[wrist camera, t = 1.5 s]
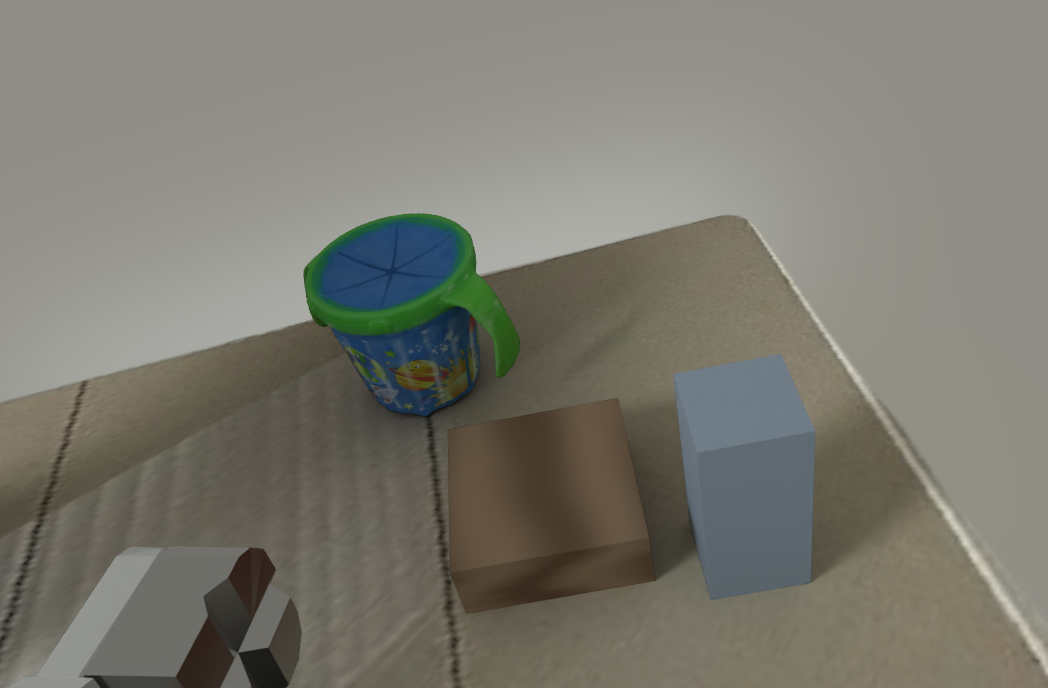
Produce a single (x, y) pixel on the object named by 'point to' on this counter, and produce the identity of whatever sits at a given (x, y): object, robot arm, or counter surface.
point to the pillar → (747, 475)
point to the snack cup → (409, 309)
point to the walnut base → (545, 508)
